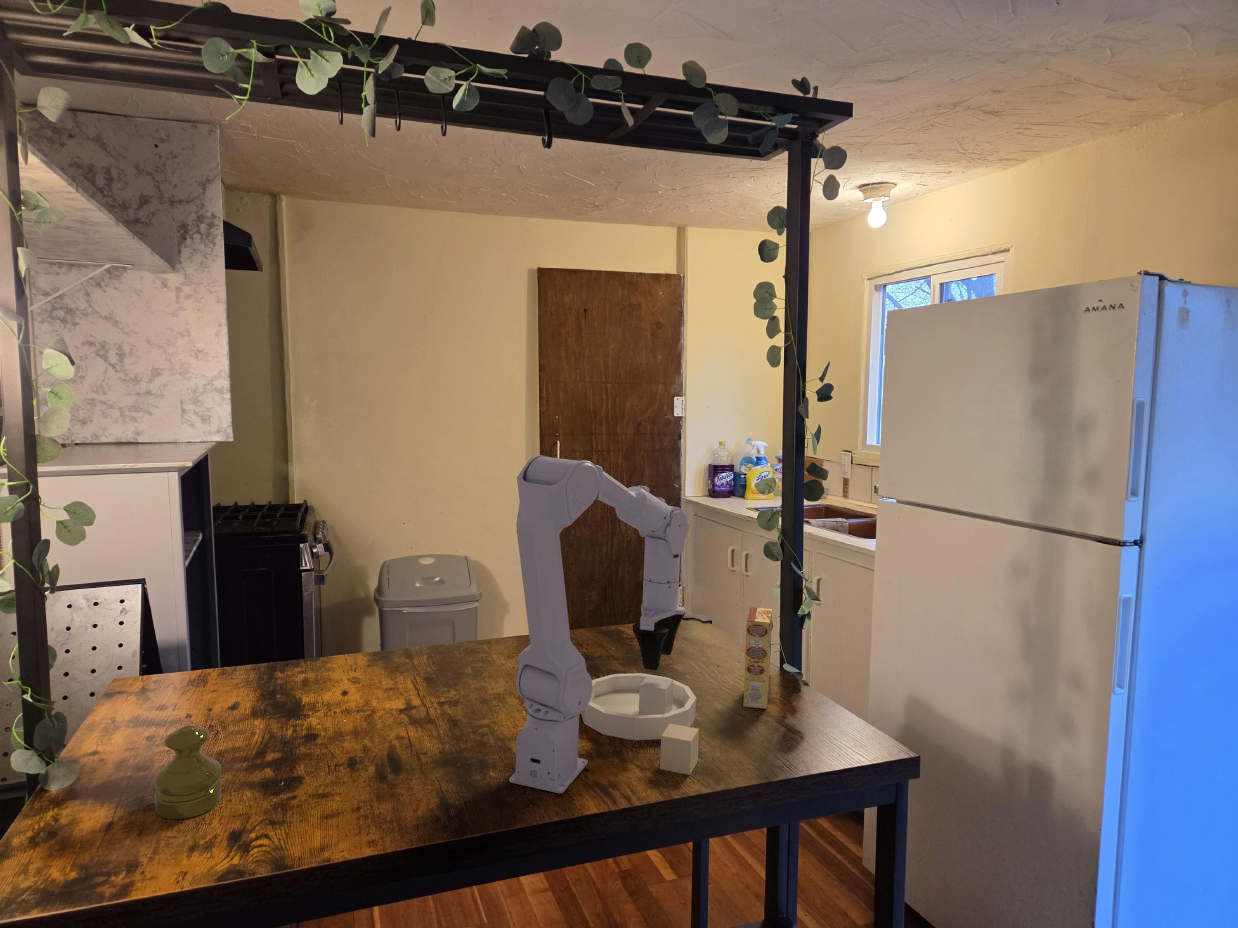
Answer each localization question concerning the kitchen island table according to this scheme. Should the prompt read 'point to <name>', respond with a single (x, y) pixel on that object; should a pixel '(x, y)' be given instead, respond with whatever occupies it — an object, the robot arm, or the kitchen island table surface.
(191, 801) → the olive green knobbed piece
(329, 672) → the kitchen island table surface
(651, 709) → the matte stone cube
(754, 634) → the candy box
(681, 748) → the cream rectangular block
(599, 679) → the bowl
